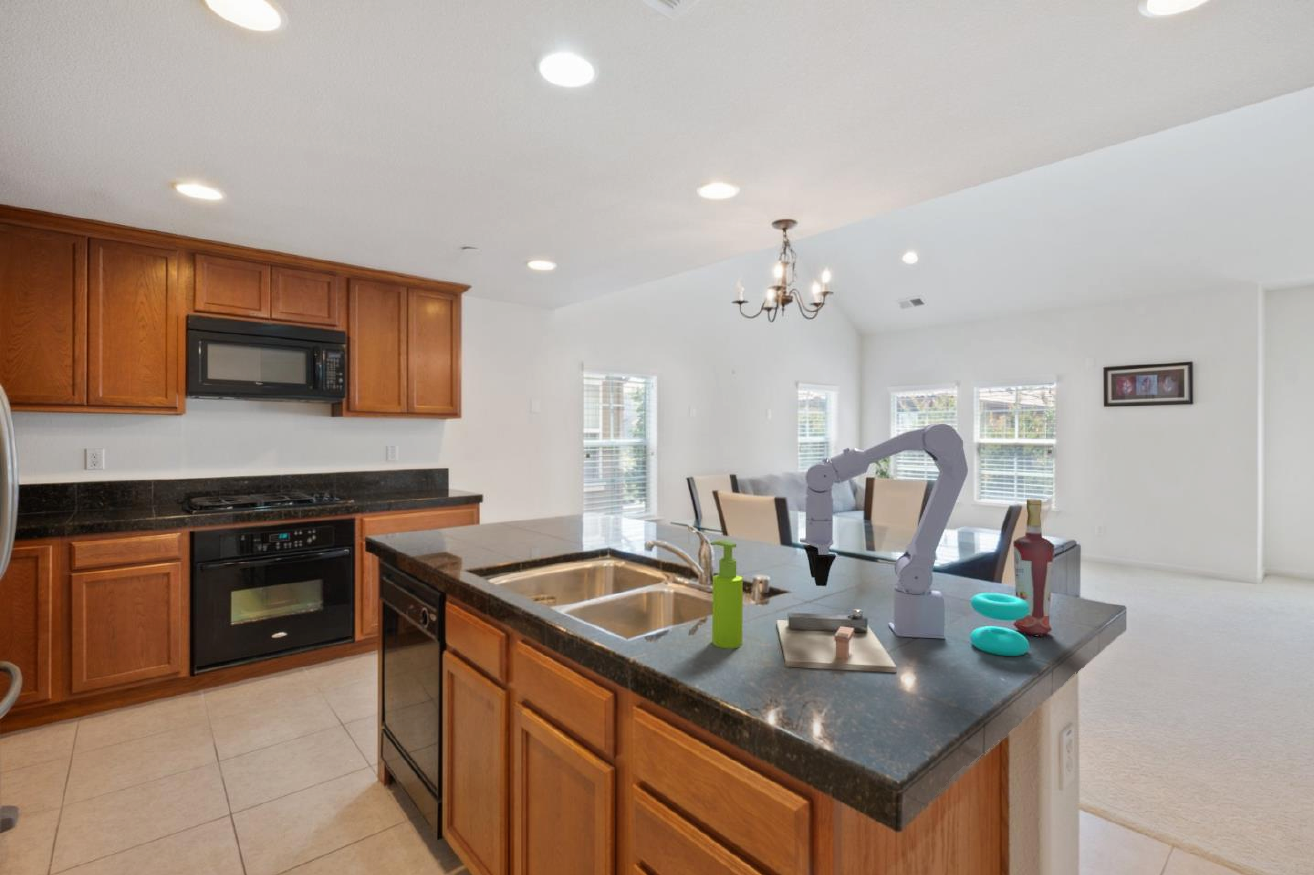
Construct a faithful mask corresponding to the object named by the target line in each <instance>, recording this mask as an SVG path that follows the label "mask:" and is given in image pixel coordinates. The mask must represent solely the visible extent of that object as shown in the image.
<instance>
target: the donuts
mask: <svg viewBox="0 0 1314 875" xmlns="http://www.w3.org/2000/svg"><path fill="white" fill-rule="evenodd" d="M970 605H971V607H972V609H973V610H974V611H975V612H977V614H979V615H981V616H984V617H986V618H989V619H993V620H998V621H1005V622H1006V621H1008V622H1010V621H1016V620H1019V619H1022V618H1024V617H1026V616H1027V615H1028V613H1029V611H1030V608H1029V605H1028V604H1027V603H1026V602H1025V601H1024V600H1023V599H1021V598H1018V597H1016V595H1010V594H1005V593H1000V592H981V593H980V592H979V593H976V594H975V595H974V596H972V598H971V600H970ZM969 639H970V642H971V643H972V645H973V646H974V647H976V648H977V649H979V651H980V650H981V651H982V652H985V653H988V654H993V655H998V656H1004V657H1019V656H1022V655H1025V654H1026V653H1027V652H1028V651H1029V649H1030V644H1029V641H1028V639H1027V638H1026V637H1025V636H1024V634H1023V633H1021V632H1019V631H1016V630H1013V629H1011V628H1007V627H1002V626H995V625H993V626H992V625H989V626H987V625H985V626H981V627H976V629H974V630H973V631H972V632H971V633H970V637H969Z"/></svg>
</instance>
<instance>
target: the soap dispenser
mask: <svg viewBox="0 0 1314 875" xmlns="http://www.w3.org/2000/svg"><path fill="white" fill-rule="evenodd" d="M709 544H710V546H721V547H723V557H721V558H719V562H718V565H719V566H718V567H719V568H718V569H719V570H718V574H715V575H713V576H712V630H711V631H712V632H711V634H712V635H711V637H712V642H711V643H712V645H713V646H715V647H717V648H721V649H736V648H739V647H741V646H742V645H743V600H744V598H743V594H744V593H743V587H744V586H743V585H744V584H743V583H744V582H743V580H744V579H743V577H742V576H741V575H738V574H737V559H735V558H734V557H733V548H737V543H734V542H731V541H727V540H719V541H714V542H709Z"/></svg>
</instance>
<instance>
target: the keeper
mask: <svg viewBox="0 0 1314 875" xmlns="http://www.w3.org/2000/svg"><path fill="white" fill-rule="evenodd" d="M853 635H854V628H849V627H842V626H841V627H840V628H839V629H838V631H837V632H836V634H835V635H834V641H836V658H841V659H846V660H847V659H848V657H849V642H850V640H851V638H852V636H853Z"/></svg>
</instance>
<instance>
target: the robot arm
mask: <svg viewBox="0 0 1314 875" xmlns="http://www.w3.org/2000/svg"><path fill="white" fill-rule="evenodd" d="M842 451H843V452H842V453H839V454H837V455H835V456H832V457H830V458H828V457H825V458H823V459H822V462H823V463H816V464H813V465H812V466H810V467H809V468H808V469H807V471H806V474H805V482H806V484H807V487H806V490H805V491H806V497H805V537H800V538H799V541H800V543H802V544H803V549H804V551H805V553H806V556H807V560H808V566H809V572H810V576H811V578H813V579H814V582H815V586H817V587H827V584H828V580H829V576H830V571H831V568H832V565H833V563H834V561H835V559H836V556H837V555H836V554H835V553H830V552H829V550H830V548H831V546H833V544H834V539H833V537H834V536H833V533H834V529H833V527H834V526H833V525H834V524H833V523H834V520H833V519H834V518H833V517H834V509H833V508H834V505H833V504H834V498H833V497H832V489H833V488H832V487H833V486H834V484H838V485H839V484H841V483H844V482H846V481H849V480H850V479H853V478H856V477H859V476H861V475H863V474H866V473H867V472H868V469H869V467H870V465H871V464H873V463H876V462H879V461H882V460H884V459H887V458H889V457H893V456H894V455H895V456H896V455H897V454H899V453H902V452H905V451H918V452H925V453H926V454H927V455H928V456H930V458H931V459H932V460H933V462H934V465H935V466H936V468H937V470H938V471H939V472H938V476H937V477H936V481H935V483H934V485H933V488H932V490H931V493H930V496H929V498H928V500H927V503H926V505H925V507H924V510H923V512H922V515H921V517H920V520H919V523H918V524H917V527H916V530H915V533H914V534H913V537H912V540H911V541H910V542H909V544H908V545H907V546H906V549H905V550H904V553H903V554H902V555H901V556H899V557H898V558H897V559H896V561H895V563H894V572H895V574H896V576H897V577H898V578H899V579H898V580H897V582H896V583H895V584H894V593H893V594H894V600H893V602H894V604H893V608H894V609H893V611H894V612H893V613H894V614H893V622H888V624H887V625H888V626H889V627H890V629H891V630H892V631H893V632H894V633H895V635H896V637H901V638H927V639H946V635H945V623H946V622H945V621H946V620H945V619H946V618H945V612H946V611H945V610H946V607H945V599H944V596H943V594H942V592H941V591H939V590H933V589H932V587H931V586H932V584H933V581H934V580H933V579H934V575H933V569H934V566H935V563H936V551H937V549H938V547H939V544H940V542H941V539H942V537H943V534H944V531H945V529H946V528H947V524H948V522H949V520H950V517H951V515H952V513H953V510H954V507H955V504H956V503H957V500H958V498H959V496H960V493H961V490H962V488H963V486H964V483H965V481H966V479H967V477H968V473H969V469H968V465H967V464H968V463H967V459H966V455H965V450H964V440H963V439H962V437H961V436H960V435H959V433H958V432H957V430H956V429H955V428H954V427H953V426H952V425H949V424H947V423H931V424H930V423H929V424H927V425H925V426H924V427H918V428H914V429H911V430H906V431H905V432H902V433H900V434H897V435H895V436H893V437H890V438H888V439H887V440H884V441H882V442H880V443H878V444H876V445H873V446H872V447H869V448H867V449H865V450H861V449H859V448H857V447H853V448H851V449H850V448H849V447H847V448H844V449H842Z"/></svg>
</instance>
